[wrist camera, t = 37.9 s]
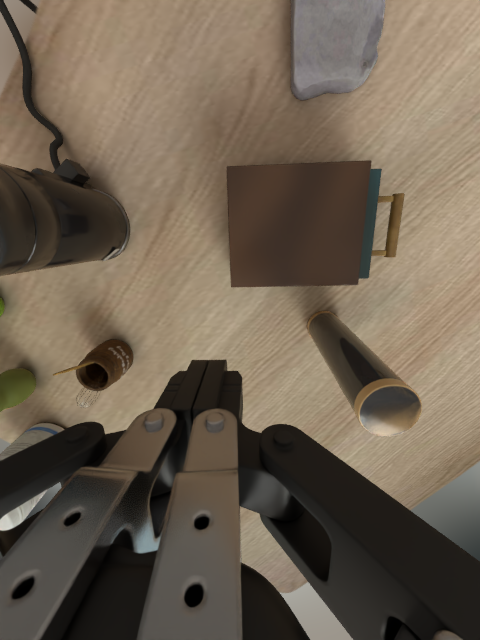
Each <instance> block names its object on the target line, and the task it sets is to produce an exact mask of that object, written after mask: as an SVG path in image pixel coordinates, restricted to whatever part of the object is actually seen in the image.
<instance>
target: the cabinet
mask: <svg viewBox="0 0 480 640" xmlns="http://www.w3.org/2000/svg"><path fill="white" fill-rule="evenodd" d="M370 169H371V161H347V162H323V163H299V164H275V165H251V166H227V190H228V217H229V245H230V272H231V287H275V286H331V285H358V280H359V270H360V261H361V252H362V243H363V233H364V224H365V215H366V206H367V196H368V187H369V178H370Z"/></svg>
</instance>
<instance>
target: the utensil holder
mask: <svg viewBox="0 0 480 640" xmlns="http://www.w3.org/2000/svg"><path fill="white" fill-rule="evenodd" d="M132 362H133V353H132V350H131V349H130V347H129V346H128V345H127V344H126V343H124V342H122V341H120V340H108V341H105V342H103V343H102V344H100V345H99V346H97V347H96V348H95V349H93V350H92V351H91V352H89V353H88V354H87V356H86V357H85V359H83V360H82V361H81V362H80V364H79V365H78V366H76V367H72V368H69V369H66V370H63V371H61V372H58V373H55V374H53V376H54V375H57V374H61V373H65V372H69V371H72V370H75V369H77V370H76V375H77V378H78V380H79V382H80V383H81V384H82V385H83V386H84V387H85V388H87V390H88V389H89V390H93V391H97V393H98V391H101V390H104V389H106V388H107V387H109V386H110V385H111V384H113V383H115V382H116V381H117V380H119V379H120V378H121V377H122V376H123V375H124V374H125V372H126V371H127V370H128V369H129V368H130V366H131V365H132ZM85 388H84V389H85ZM87 390H86V391H87ZM86 391H85V392H86ZM93 391H92V392H93ZM80 392H81V391H80ZM82 392H83V391H82ZM82 392H81V393H82ZM85 392H84V393H85ZM89 392H90V391H89ZM78 395H79V394H78ZM80 395H81V394H80ZM87 395H88V394H87ZM90 395H91V394H90ZM95 395H96V394H95ZM99 395H100V394H99ZM81 397H82V396H81ZM89 397H90V396H89ZM85 398H86V397H85ZM93 398H94V397H93ZM93 398H92V399H93ZM95 398H96V397H95ZM97 398H98V397H97ZM76 399H77V397H76ZM92 399H91V400H92ZM84 400H85V399H84ZM87 400H88V399H87ZM91 400H90V401H91ZM96 400H97V399H96ZM96 400H95V401H96ZM90 401H89V402H90ZM93 401H94V400H93ZM76 402H77V400H76ZM79 402H80V397H79ZM83 402H84V401H83ZM85 403H86V402H85ZM85 403H84V405H85ZM92 403H93V402H92ZM92 403H91V404H92ZM77 404H78V402H77ZM82 404H83V403H82ZM86 404H87V403H86ZM81 406H82V407H83V405H81ZM82 407H81V408H82ZM85 407H87V406H85ZM83 408H84V407H83ZM87 408H88V407H87Z"/></svg>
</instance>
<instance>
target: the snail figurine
mask: <svg viewBox="0 0 480 640" xmlns="http://www.w3.org/2000/svg"><path fill="white" fill-rule="evenodd" d="M4 308H5V306H4V302H3V300H2V298H1V297H0V317H1V315H2V314H3V312H4Z"/></svg>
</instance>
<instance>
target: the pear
mask: <svg viewBox="0 0 480 640" xmlns="http://www.w3.org/2000/svg"><path fill="white" fill-rule="evenodd" d="M35 387H36V378H35V376H34V375H33V374H32V373H31V372H30V371H28V370H26V369H22V368H15V369H10V370H7V371H5V372H3V373H1V374H0V412H1V411H2V410H4V409H6V408H11V407H14V406H16V405H18V404H20V403H22V402H23V401H24V400H26V399H27V398H28V397H29V396H30V395H31V394H32V393H33V391H34V389H35Z"/></svg>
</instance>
